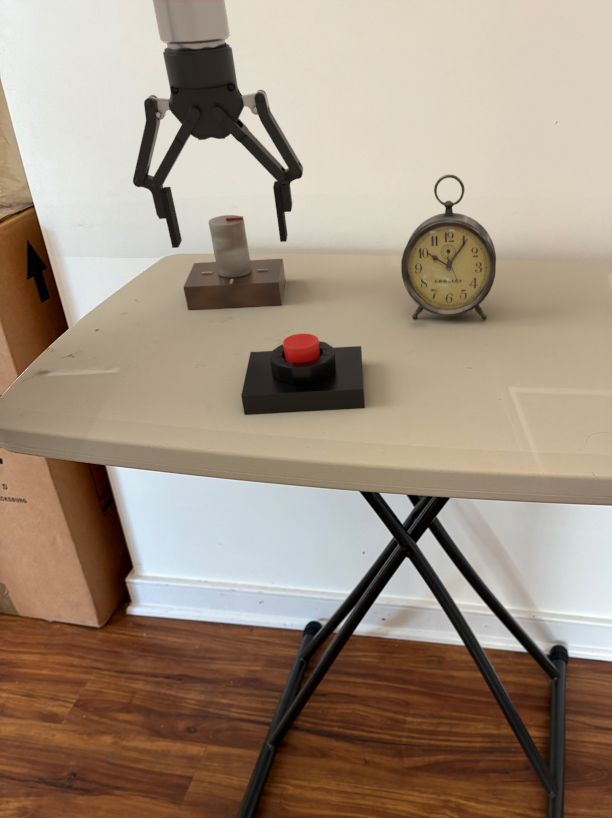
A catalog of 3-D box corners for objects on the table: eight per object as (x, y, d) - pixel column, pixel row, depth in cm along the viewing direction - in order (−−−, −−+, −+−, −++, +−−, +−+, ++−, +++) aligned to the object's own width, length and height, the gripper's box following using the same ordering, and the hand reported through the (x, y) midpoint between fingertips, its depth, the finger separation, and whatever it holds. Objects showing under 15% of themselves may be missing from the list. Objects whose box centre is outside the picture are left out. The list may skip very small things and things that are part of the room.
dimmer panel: (188, 310, 97) (182, 285, 95) (198, 284, 104) (193, 261, 102) (281, 305, 98) (278, 280, 96) (285, 280, 105) (282, 257, 103)
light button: (284, 365, 76) (281, 349, 75) (286, 350, 79) (283, 334, 78) (320, 363, 76) (318, 347, 75) (320, 348, 79) (319, 332, 78)
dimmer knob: (215, 278, 97) (205, 223, 93) (219, 266, 101) (210, 213, 97) (250, 276, 98) (241, 221, 93) (253, 265, 101) (244, 211, 97)
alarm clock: (402, 324, 92) (397, 180, 82) (407, 307, 96) (404, 168, 86) (492, 326, 91) (499, 180, 81) (494, 308, 95) (500, 168, 85)
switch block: (244, 415, 76) (238, 379, 73) (253, 370, 83) (247, 336, 81) (364, 408, 76) (362, 372, 73) (362, 364, 84) (360, 330, 81)
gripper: (310, 35, 87) (328, 227, 100) (90, 45, 86) (138, 237, 99) (308, 42, 81) (327, 245, 94) (72, 53, 80) (125, 256, 93)
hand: (230, 241), depth 97 cm, fingers open, 13 cm apart
